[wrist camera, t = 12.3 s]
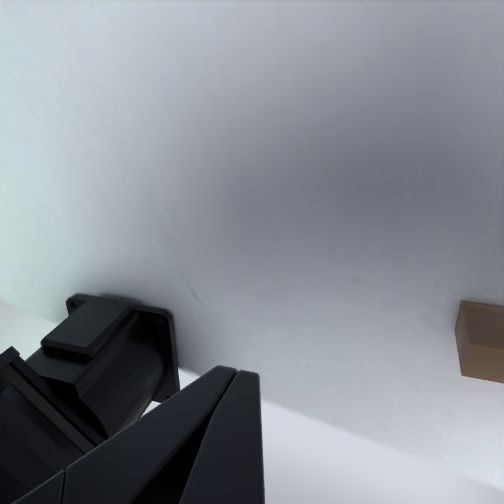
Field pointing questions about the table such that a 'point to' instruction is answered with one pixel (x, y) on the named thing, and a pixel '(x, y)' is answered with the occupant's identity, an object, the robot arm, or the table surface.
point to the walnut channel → (481, 341)
